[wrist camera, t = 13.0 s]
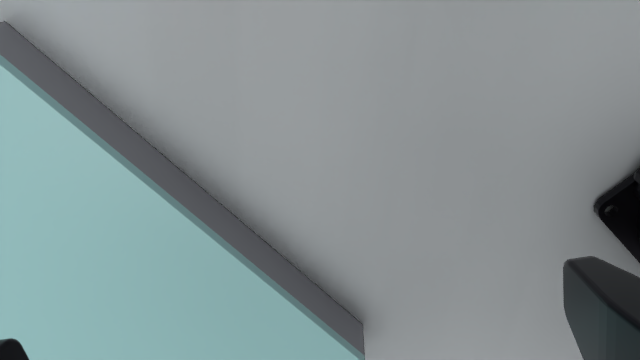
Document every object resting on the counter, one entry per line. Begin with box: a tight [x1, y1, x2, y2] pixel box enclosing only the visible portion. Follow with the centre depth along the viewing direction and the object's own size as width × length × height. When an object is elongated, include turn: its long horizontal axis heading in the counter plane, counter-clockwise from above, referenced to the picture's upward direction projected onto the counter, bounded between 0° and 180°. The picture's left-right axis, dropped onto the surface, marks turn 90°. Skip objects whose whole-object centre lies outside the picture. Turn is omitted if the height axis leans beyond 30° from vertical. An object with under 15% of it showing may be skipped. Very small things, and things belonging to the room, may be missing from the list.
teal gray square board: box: [0, 21, 365, 360], centre depth 24 cm, size 19×19×2 cm
